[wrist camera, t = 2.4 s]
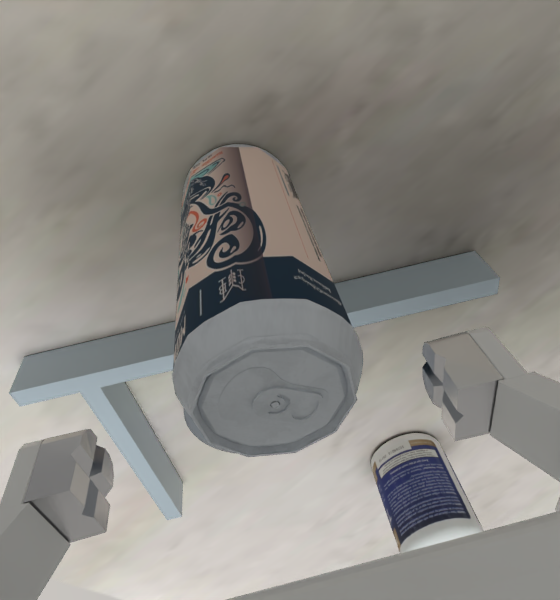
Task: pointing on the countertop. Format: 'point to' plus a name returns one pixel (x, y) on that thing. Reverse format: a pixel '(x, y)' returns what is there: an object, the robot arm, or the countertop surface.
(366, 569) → the robot arm
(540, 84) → the countertop surface
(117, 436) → the divider wall
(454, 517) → the pill bottle
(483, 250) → the countertop surface
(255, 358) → the beer can
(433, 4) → the countertop surface
